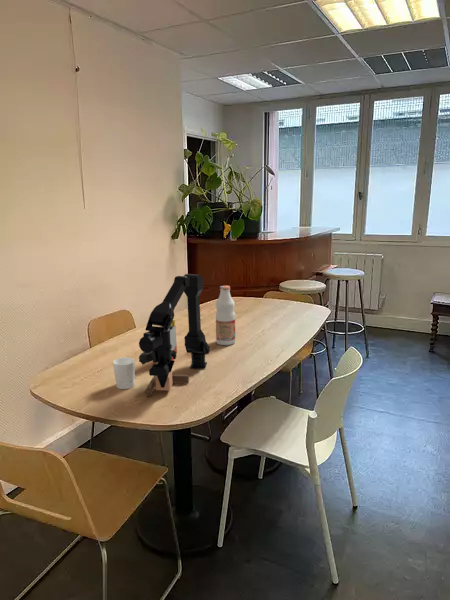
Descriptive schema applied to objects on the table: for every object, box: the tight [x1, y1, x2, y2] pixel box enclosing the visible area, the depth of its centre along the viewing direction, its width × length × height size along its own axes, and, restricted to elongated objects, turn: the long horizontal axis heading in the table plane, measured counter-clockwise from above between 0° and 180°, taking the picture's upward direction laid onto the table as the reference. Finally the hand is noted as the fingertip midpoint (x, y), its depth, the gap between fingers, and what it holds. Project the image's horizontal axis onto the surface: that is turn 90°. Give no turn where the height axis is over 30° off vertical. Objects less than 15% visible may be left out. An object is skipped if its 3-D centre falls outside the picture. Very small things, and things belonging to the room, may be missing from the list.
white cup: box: [112, 356, 136, 390], centre depth 167 cm, size 8×8×10 cm
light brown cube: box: [155, 371, 174, 391], centre depth 162 cm, size 5×5×5 cm
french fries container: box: [170, 319, 178, 361], centre depth 191 cm, size 5×11×18 cm, turn 153°
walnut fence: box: [145, 374, 190, 398], centre depth 165 cm, size 14×13×3 cm
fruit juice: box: [215, 285, 236, 346], centre depth 213 cm, size 9×9×28 cm
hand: (164, 384), depth 162 cm, fingers open, 5 cm apart
